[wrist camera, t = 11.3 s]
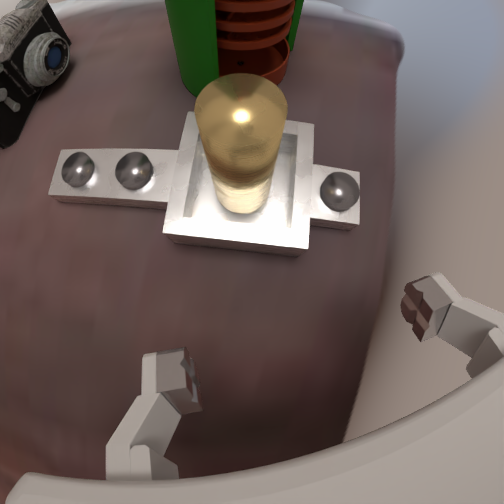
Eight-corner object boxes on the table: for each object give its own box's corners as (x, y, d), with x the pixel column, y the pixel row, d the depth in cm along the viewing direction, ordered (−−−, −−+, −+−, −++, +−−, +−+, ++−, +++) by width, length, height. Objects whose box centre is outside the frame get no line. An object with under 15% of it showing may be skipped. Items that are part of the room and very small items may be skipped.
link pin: (211, 210, 19) (186, 141, 10) (219, 161, 20) (203, 71, 11) (267, 216, 19) (284, 149, 10) (271, 165, 20) (289, 77, 11)
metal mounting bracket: (54, 229, 19) (30, 219, 16) (79, 135, 21) (62, 116, 17) (348, 262, 20) (366, 255, 16) (350, 155, 21) (365, 134, 18)
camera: (35, 149, 20) (-31, 92, 11) (-6, 149, 20) (-65, 104, 11) (98, 34, 23) (68, -31, 13) (54, 42, 23) (21, -12, 13)
